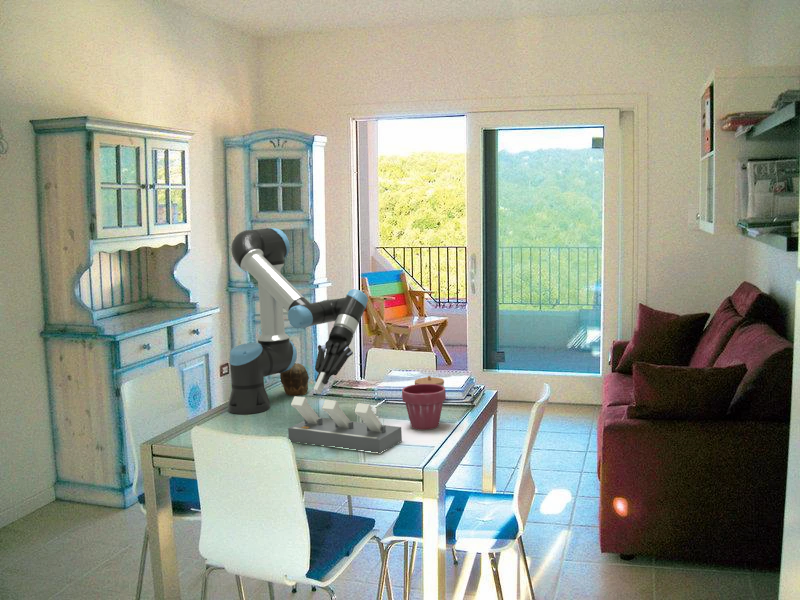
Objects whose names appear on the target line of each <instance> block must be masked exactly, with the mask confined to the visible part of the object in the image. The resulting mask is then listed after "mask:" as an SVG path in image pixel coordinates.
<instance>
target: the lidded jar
mask: <svg viewBox="0 0 800 600" xmlns="http://www.w3.org/2000/svg"><path fill="white" fill-rule="evenodd" d="M416 384H437V385H441V386H443V387H445V385H444V384H445V380H444V379H443V378H441V377H433V376H431V375H428V376H427V377H426V376H425V377H419V378H418V379H415V380H414V385H416Z"/></svg>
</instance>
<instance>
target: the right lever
mask: <svg viewBox="0 0 800 600" xmlns="http://www.w3.org/2000/svg"><path fill="white" fill-rule="evenodd" d="M372 409H373V407H372V406H371V404H370V403H369V404H368V403H359V402H358V403H357V404H356V407H355V410H354V413H355V414H356V416H359V418H360V419H361V420H362V421H363V423H365V424H366V426H367V427H368V428H369V430H372V431H382V425H383V424H382V423H381V421H380V420H379V418H378V417H377V415H376V414H375V413H374V411H373V410H372Z"/></svg>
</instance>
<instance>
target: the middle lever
mask: <svg viewBox="0 0 800 600" xmlns="http://www.w3.org/2000/svg"><path fill="white" fill-rule="evenodd" d="M321 409H322V410H323V411H324V412H326V413H327V414H328V415H329V417H330V419H333V420H334V422H335V423H336V424H337V426H339V427H349V422H350V421H351V420H350V418H349V417H348V416H347V415H346V414H345V411H343V410H342V408H341V407H340V403H339V402H338V401H337V400H333V399H331V400H330V399H325V400H324V402H323V404H322V407H321Z"/></svg>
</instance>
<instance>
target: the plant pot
mask: <svg viewBox="0 0 800 600" xmlns="http://www.w3.org/2000/svg"><path fill="white" fill-rule="evenodd" d="M401 397H402V402H403V403H404V404H405V408H406V411H407V415H408V418H409V421H410V425H411V426H410V427H411V428H412V429H414V430H418V429H419V430H420V431H423V430H425V431H428V430H433V429H437V428H438V427H439V426H440V421H441V414H442V410H443V406H444V405H443V403H444V401H446V398H447V397H446V388H445V386H444V387H443V386H441V385H437V384H416V385H415V384H411V385H407V386H405V387H403V388H402V389H401Z"/></svg>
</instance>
